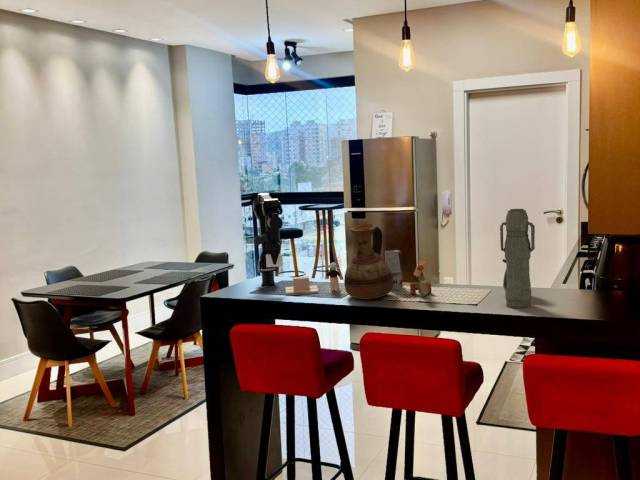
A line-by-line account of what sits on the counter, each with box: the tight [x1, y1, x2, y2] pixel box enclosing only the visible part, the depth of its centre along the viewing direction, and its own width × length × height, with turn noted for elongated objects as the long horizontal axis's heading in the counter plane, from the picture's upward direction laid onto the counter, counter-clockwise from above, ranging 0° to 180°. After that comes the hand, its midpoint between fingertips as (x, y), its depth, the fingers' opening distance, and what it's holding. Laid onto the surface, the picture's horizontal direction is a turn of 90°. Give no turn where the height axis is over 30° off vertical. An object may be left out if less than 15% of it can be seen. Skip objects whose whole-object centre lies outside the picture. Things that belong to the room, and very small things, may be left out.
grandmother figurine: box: [324, 261, 343, 293], centre depth 269 cm, size 8×4×13 cm, turn 84°
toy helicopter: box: [409, 260, 432, 298], centre depth 247 cm, size 8×21×14 cm, turn 179°
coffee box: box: [384, 249, 404, 291], centre depth 268 cm, size 9×6×16 cm
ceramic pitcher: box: [343, 223, 393, 300], centre depth 253 cm, size 20×20×30 cm
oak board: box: [285, 284, 319, 296], centre depth 274 cm, size 14×14×1 cm
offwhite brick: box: [266, 252, 284, 268], centre depth 271 cm, size 4×7×5 cm, turn 92°
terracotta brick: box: [292, 276, 310, 290], centre depth 273 cm, size 4×7×5 cm, turn 94°
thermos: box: [499, 208, 536, 309], centre depth 224 cm, size 9×12×35 cm
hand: (274, 263), depth 271 cm, fingers closed on offwhite brick, 4 cm apart
